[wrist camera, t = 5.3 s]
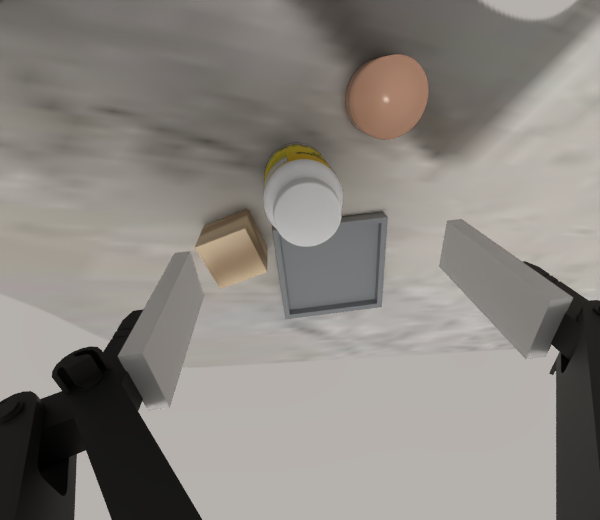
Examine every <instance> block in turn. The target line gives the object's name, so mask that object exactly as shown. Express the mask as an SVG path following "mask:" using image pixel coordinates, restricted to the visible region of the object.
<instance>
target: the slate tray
mask: <svg viewBox="0 0 600 520" xmlns="http://www.w3.org/2000/svg"><path fill="white" fill-rule="evenodd" d="M387 218H388V217H387V216H386V215H385V214H384V212H377V213H368V214H359V215H351V216H342V217H341V222H340V225H339V227H338V229H337V230H336V232H335V233H334V234H333V235H332V236H331V237H330V238H329V239H328V240H326V241H325V242H323V243H321V244H319V245H315V246H310V247H303V246H297V245H294V244H292V243H290V242H288V241H287V240H285V239H284V238H283V237H282V236H281V235H280V234H279V232H278V231H277V229H276V228H275V227H274V226H273V225H272V229H273V237H274V244H275V251H276V258H277V264H278V271H279V278H280V285H281V292H282V298H283V305H284V312H285V319H291V318H298V317H306V316H314V315H322V314H330V313H338V312H345V311H353V310H361V309H369V308H377V307H382V294H383V279H384V264H385V248H386V233H387Z"/></svg>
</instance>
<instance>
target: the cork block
mask: <svg viewBox="0 0 600 520" xmlns="http://www.w3.org/2000/svg"><path fill="white" fill-rule="evenodd" d="M195 249H196V251H197V252H198V254H199V256H200V257H201V259H202V260H203V262H204V263H205V265H206V267H207V268H208V270H209V271H210V273H211V275H212V276H213V278H214V279H215V281H216V282H217V284H218V286H219V287H220V289H221V288H224V287H227V286H230V285H233V284H235V283H238V282H241V281H244V280H246V279H249V278H252V277H255V276H257V275H260V274H263V273H266V272H267V246H266V244H265V242H264V240H263V238H262V236H261V234H260V232H259V230H258V228H257V226H256V224H255V222H254V220H253V218H252V216H251V214H250V212H249V210H248V209H246V210H243V211H241V212H238V213H236V214H233V215H231V216H228V217H225V218H223V219H220V220H218V221H215V222H213V223H210V224H207V225H205V226H204V228H203V230H202V232H201V234H200V237H199V239H198V241H197V243H196V246H195Z"/></svg>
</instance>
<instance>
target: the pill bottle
mask: <svg viewBox="0 0 600 520" xmlns="http://www.w3.org/2000/svg"><path fill="white" fill-rule="evenodd" d="M263 205H264V210H265V213H266V216H267V218H268V220H269V221H270V222H271V224H272V225H273V226H274V227H275V228H276V229H277V231H278V232H279V234H280V235H281V236H282V237H283V238H284V239H285V240H287V241H288V242H290V243H292V244H294V245H297V246H303V247H310V246H315V245H319V244H321V243H323V242H325V241H326V240H328V239H329V238H330V237H331V236H332V235H333V234H334V233H335V232H336V230H337V229H338V227H339V225H340V222H341V217H342V205H343V190H342V187H341V184H340V182H339V179H338V178H337V176H336V174H335V173H334V172H333V170H332V169H331V168H330V166H329V165H328V164H327V162H326V161H325V159H324V158H323V157H322V156H321V154H320V153H319V152H318V151H316V150H315V149H314V148H312V147H310V146H308V145H305V144H300V143H294V144H288V145H285V146H283V147H281V148H280V149H278V150H277V151H276V152H275V153H273V155H272V156H271V157H270V159H269V160H268V163H267V165H266V168H265V174H264V192H263Z"/></svg>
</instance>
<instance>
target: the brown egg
mask: <svg viewBox="0 0 600 520" xmlns="http://www.w3.org/2000/svg"><path fill="white" fill-rule="evenodd" d="M427 100H428V81H427V77H426V74H425V72H424V70H423V69H422V67H421V66H420V65H419V63H418V62H416V61H415V60H414V59H412V58H410V57H408V56H405V55H400V54H397V55H389V56H385V57H380V58H376V59H373V60H370V61H368V62H366V63H365V64H363V65H362V66H361V67H360V68H358V70H357V71H356V72H355V73H354V75H353V76H352V78H351V80H350V81H349V84H348V87H347V90H346V96H345V106H346V111H347V114H348V117H349V119H350V121H351V122H352V123H353V125H354V126H355V127H357V128H358V129H359V130H361V131H363V132H365V133H367V134H369V135H371V136H373V137H375V138H378V139H394V138H397V137H399V136H402V135H403V134H405V133H407V132H408V131H409V130H411V129H412V128H413V127H414V126H415V124H416V123H417V122H418V121H419V119H420V118H421V116H422V114H423V112H424V110H425V107H426V104H427Z"/></svg>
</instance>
